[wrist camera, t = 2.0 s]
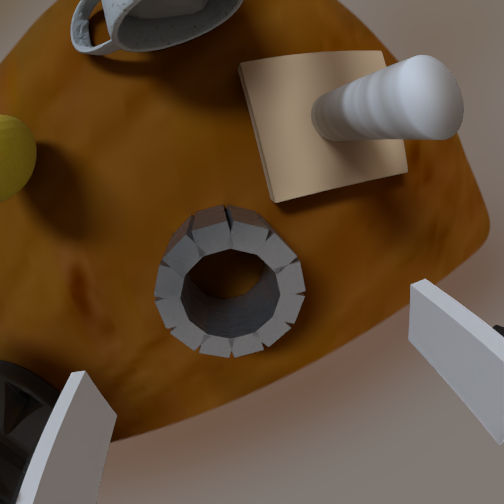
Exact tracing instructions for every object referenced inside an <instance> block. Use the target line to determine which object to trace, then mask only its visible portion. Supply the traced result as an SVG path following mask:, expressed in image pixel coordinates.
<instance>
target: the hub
mask: <svg viewBox="0 0 504 504" xmlns="http://www.w3.org/2000/svg"><path fill="white" fill-rule="evenodd" d="M227 249H235V250H239V251H243V252H247V253H252V254H256V255H258V256H259V257H260V258H261V259H262V260H263V261H264V262H265V264H264V267H263V270H262V273H261V276H260V280H259V282H258V283H256V284H255V285H254V286H253V287H252V288H251V289H250V290H249V291H248V292H247V293H246V294H244V295H240V296H237V297H233V298H229V299H222V298H217V297H213V296H208V295H206V294H205V293H204V292H203V291H201V290H200V289H199V288H198V287H197V286H196V285H194V284H193V282H192V280H191V277H190V274H189V270H190V269H191V268H192V267H193V266H194V265H195V264H196V263H197V262H198V261H199V260H200V259H201V258H202V257H203V256H206V255H209V254H213V253H216V252H220V251H223V250H227ZM303 291H306V290H305V285H304V280H303V275H302V269H301V264H300V261H299V260H298V258H297V255H296V254H295V253H294V252H293V251H292V249H291V248H290V247H289V246H288V245H287V243H286V242H285V241H284V240H283V239H282V237H281V236H280V235H279V234H278V233H277V232H276V231H275V230H274V229H273V228H272V227H271V225H270V224H269V223H268V222H267V221H266V220H265V219H264V218H263V217H262V216H261V215H260V214H258V215H257V214H256V212H255V211H252V210H248V209H244V208H240V207H236V206H232V205H228V206H227V210H226V214H225V210H224V207H223V205H219V206H216V207H212V208H209V209H205V210H202V211H198V212H196V215H195V217H194V216H193V215H191V216H190V217H189V218H188V219H187V220H186V221H185V222H184V223H183V224H182V226H181V227H180V228H179V229H178V230H177V231H176V232H175V233H174V234H173V236H172V238H171V240H170V242H169V244H168V247H167V249H166V251H165V253H164V256H163V258H162V260H161V262H160V265H159V270H158V275H157V281H156V287H155V293H154V296H156V299H155V303H156V306H157V308H158V310H159V313H160V315H161V317H162V320H163V322H164V324H165V326H166V328H167V329H168V328H171V331H170V333H171V334H172V335H173V336H175V337H176V338H177V339H179V340H180V341H181V342H183V343H184V344H186V345H187V346H188V347H190V348H191V349H193V350H195V349H197V348H198V347H199V353H203V354H209V355H215V356H221V357H227V358H229V356H230V353H231V350H232V352H233V355H234V357H239V356H242V355H246V354H250V353H254V352H257V351H261V350H264V349H263V345H262V342H263V343H264V344H265V345H266V346H268V347H269V346H271V345H272V344H273V343H274V342H275V341H277V340H278V339H279V338H280V337H281V336H282V335H284V334H285V333H286V332H287V331H288V330H289V329H291V326H290V324H289V323H295V321H296V318H297V316H298V313H299V311H300V308H301V305H302V303H303V300H304V298H305V295H304V294H303Z"/></svg>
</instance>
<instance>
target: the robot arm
mask: <svg viewBox="0 0 504 504" xmlns="http://www.w3.org/2000/svg"><path fill="white" fill-rule="evenodd" d="M408 340H409V341H410V342H411V343H412V344H413V345H414V346H415V348H416V349H417V350H418V351H419V352H420V353H421V354H422V355H423V356H424V357H425V359H426V360H427V361H428V362H429V363H430V364H431V365H432V366H433V367H434V368H435V370H436V371H437V372H438V373H439V374H440V375H441V376H442V378H443V379H444V380H445V381H446V382H447V383H448V384H449V385H450V386H451V388H452V389H453V390H454V391H455V392H456V394H457V395H458V396H459V397H460V398H461V399H462V401H463V402H464V403H465V404H466V405H467V406H468V408H469V409H470V410H471V411H472V412H473V414H474V415H475V416H476V417H477V418H478V420H479V421H480V422H481V423H482V425H483V426H484V427H485V428H486V429H487V431H488V432H489V433H490V434H491V436H492V437H493V438H494V439H495V441H496V442H497V443H498V444H499V445H500V444H502V443H503V442H504V327H501V326H499V325H495V326H494V327H490V326H489V325H487V324H486V323H485V322H484V321H483V320H481V319H480V318H479V317H477V316H476V315H475V314H473V313H472V312H471V311H469V310H468V309H467V308H465V307H464V306H463V305H461V304H460V303H458V302H457V301H456V300H454V299H453V298H452V297H450V296H449V295H448V294H446V293H445V292H443V291H442V290H441V289H439V288H438V287H436V286H435V285H433V284H432V283H431V282H429V281H428V280H426V279H424V280H421V281H419V282H416V283H414V284H411V285H410V320H409V338H408ZM116 418H117V415H116V413H115V412H114V411H113V409H112V408H111V407H110V405H109V404H108V403H107V401H106V400H105V398H104V397H103V396H102V394H101V393H100V391H99V390H98V389H97V387H96V386H95V384H94V383H93V381H92V380H91V378H90V377H89V375H88V374H87V372H86V371H79V372H72V373H71V375H70V377H69V379H68V381H67V382H66V384H65V386H64V388H63V390H62V392H61V394H60V393H59V392H57V391H56V390H55V389H54V388H53V387H51V386H50V385H49V384H48V383H46V382H45V381H43V380H42V379H41V378H39V377H38V376H36V375H35V374H33V373H31V372H30V371H28V370H26V369H24V368H22V367H20V366H18V365H15V364H13V363H10V362H7V361H2V360H0V504H96V503H97V498H98V493H99V488H100V483H101V478H102V474H103V469H104V465H105V461H106V457H107V453H108V448H109V444H110V440H111V437H112V433H113V429H114V425H115V422H116Z"/></svg>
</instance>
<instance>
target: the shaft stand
mask: <svg viewBox="0 0 504 504" xmlns="http://www.w3.org/2000/svg"><path fill="white" fill-rule="evenodd" d="M238 72H239V76H240V80H241V83H242V87H243V91H244V94H245V98H246V102H247V106H248V110H249V113H250V117H251V121H252V125H253V129H254V133H255V137H256V141H257V145H258V149H259V153H260V157H261V161H262V165H263V169H264V173H265V177H266V181H267V186H268V190H269V194H270V198H271V200H272V201H273V202H275V203H278V202H282V201H286V200H289V199H293V198H297V197H301V196H305V195H310V194H314V193H318V192H322V191H326V190H330V189H334V188H339V187H343V186H347V185H352V184H356V183H360V182H365V181H369V180H374V179H378V178H383V177H388V176H392V175H397V174H402V173H407V172H408V168H407V161H406V154H405V148H404V142H403V139H432V140H445V139H448V138H451V137H452V136H453V135H455V134H456V132H457V131H458V130H459V128H460V126H461V123H462V119H463V112H464V109H463V99H462V94H461V91H460V88H459V86H458V83H457V81H456V79H455V78H454V76H453V75H452V73H451V72H450V71H449V69H448V68H447V67H446V66H445V65H444V64H442V63H441V62H440V61H438V60H437V59H435V58H433V57H430V56H427V55H418V56H415V57H412V58H409V59H407V60H404V61H401V62H399V63H396V64H393V65H391V66H388V67H386V65H385V61H384V58H383V55H382V52H381V51H333V52H317V53H305V54H295V55H287V56H279V57H271V58H265V59H258V60H253V61H247V62H241V63H240V64H239V67H238Z"/></svg>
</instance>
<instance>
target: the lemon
mask: <svg viewBox="0 0 504 504" xmlns="http://www.w3.org/2000/svg"><path fill="white" fill-rule="evenodd" d="M36 158H37V148H36V142H35V139H34V137H33V134H32V132H31V131H30V129H29V128H28V127H27V125H26V124H24V123H23V122H22V121H20V120H19V119H17V118H15V117H12V116H6V115H0V202H2V201H5V200H7V199H9V198H10V197H12V196H14V195H15V194H17V193H18V192H19V191H20V190H21V189H22V188H23V187H24V186H25V185H26V183H27V182H28V180H29V178H30V177H31V175H32V173H33V170H34V167H35V163H36Z"/></svg>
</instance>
